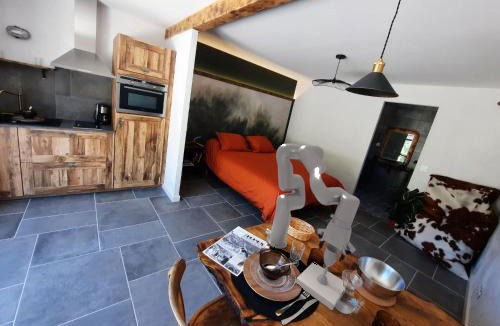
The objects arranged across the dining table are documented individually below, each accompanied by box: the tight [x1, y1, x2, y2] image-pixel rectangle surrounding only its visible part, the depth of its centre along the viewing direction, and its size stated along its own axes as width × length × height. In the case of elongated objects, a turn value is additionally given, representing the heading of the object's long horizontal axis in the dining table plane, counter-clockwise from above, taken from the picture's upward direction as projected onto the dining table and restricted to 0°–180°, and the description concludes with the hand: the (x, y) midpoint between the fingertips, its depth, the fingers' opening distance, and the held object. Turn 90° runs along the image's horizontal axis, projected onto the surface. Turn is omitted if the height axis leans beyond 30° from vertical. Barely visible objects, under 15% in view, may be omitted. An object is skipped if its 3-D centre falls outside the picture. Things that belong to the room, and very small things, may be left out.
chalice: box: [317, 242, 342, 285], centre depth 101 cm, size 7×7×18 cm
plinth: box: [295, 262, 346, 311], centre depth 103 cm, size 18×18×3 cm
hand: (330, 254), depth 100 cm, fingers open, 9 cm apart
